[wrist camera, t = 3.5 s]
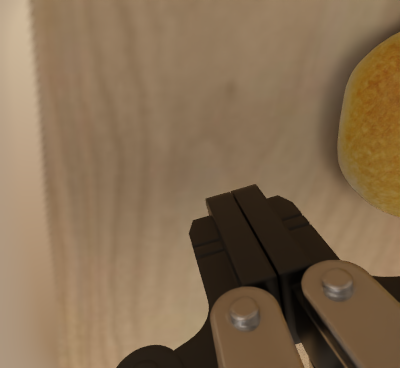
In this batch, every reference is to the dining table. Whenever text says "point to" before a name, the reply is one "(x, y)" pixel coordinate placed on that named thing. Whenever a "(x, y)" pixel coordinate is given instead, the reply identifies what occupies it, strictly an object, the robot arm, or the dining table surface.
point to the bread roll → (373, 127)
